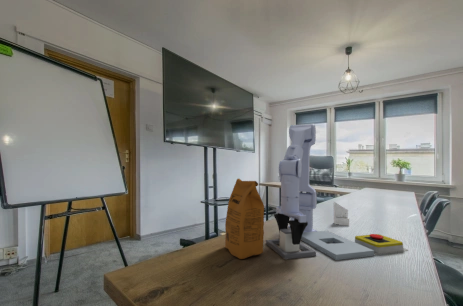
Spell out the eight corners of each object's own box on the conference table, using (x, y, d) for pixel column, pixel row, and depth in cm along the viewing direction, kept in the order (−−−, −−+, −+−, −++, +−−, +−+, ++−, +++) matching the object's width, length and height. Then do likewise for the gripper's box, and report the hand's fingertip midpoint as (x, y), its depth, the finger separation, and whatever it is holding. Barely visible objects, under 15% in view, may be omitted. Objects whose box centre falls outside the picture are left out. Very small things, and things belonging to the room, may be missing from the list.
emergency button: (349, 232, 75) (382, 229, 79) (349, 245, 74) (382, 242, 79) (374, 242, 66) (409, 238, 70) (374, 256, 65) (409, 252, 70)
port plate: (296, 237, 80) (296, 232, 80) (327, 234, 84) (327, 230, 84) (336, 260, 61) (336, 254, 61) (374, 255, 65) (374, 250, 65)
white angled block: (323, 216, 104) (333, 201, 104) (343, 228, 102) (352, 213, 102) (326, 218, 100) (335, 202, 100) (345, 230, 98) (356, 214, 98)
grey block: (279, 248, 69) (279, 229, 70) (293, 246, 71) (293, 228, 71) (285, 252, 66) (285, 232, 66) (299, 251, 67) (299, 231, 68)
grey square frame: (266, 243, 73) (266, 240, 73) (292, 241, 76) (292, 237, 76) (284, 259, 61) (285, 254, 61) (316, 255, 64) (316, 251, 64)
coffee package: (247, 242, 74) (248, 178, 75) (267, 256, 62) (269, 180, 64) (220, 246, 70) (222, 178, 71) (236, 262, 58) (238, 181, 60)
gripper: (268, 193, 75) (267, 233, 74) (291, 200, 61) (290, 249, 60) (286, 193, 77) (286, 232, 76) (312, 200, 63) (312, 247, 62)
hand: (289, 239), depth 68 cm, fingers open, 7 cm apart
